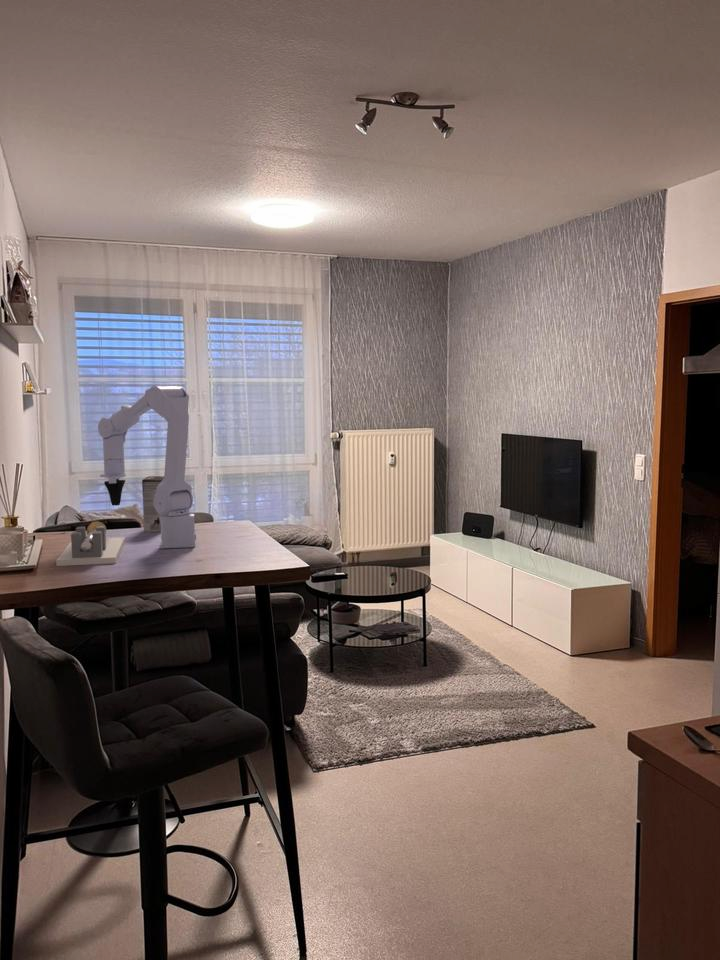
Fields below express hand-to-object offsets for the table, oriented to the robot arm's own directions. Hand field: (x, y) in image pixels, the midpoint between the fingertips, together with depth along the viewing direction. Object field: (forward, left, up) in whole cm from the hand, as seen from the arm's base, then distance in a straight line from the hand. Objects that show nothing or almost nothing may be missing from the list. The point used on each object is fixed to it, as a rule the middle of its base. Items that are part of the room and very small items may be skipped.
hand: (115, 505), depth 228 cm
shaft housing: (+4, +23, -9) cm, 26 cm away
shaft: (+4, +25, -7) cm, 27 cm away
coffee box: (-11, -10, -10) cm, 18 cm away
